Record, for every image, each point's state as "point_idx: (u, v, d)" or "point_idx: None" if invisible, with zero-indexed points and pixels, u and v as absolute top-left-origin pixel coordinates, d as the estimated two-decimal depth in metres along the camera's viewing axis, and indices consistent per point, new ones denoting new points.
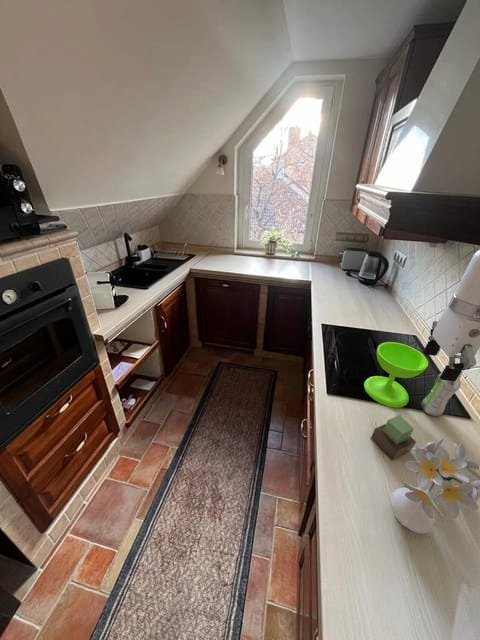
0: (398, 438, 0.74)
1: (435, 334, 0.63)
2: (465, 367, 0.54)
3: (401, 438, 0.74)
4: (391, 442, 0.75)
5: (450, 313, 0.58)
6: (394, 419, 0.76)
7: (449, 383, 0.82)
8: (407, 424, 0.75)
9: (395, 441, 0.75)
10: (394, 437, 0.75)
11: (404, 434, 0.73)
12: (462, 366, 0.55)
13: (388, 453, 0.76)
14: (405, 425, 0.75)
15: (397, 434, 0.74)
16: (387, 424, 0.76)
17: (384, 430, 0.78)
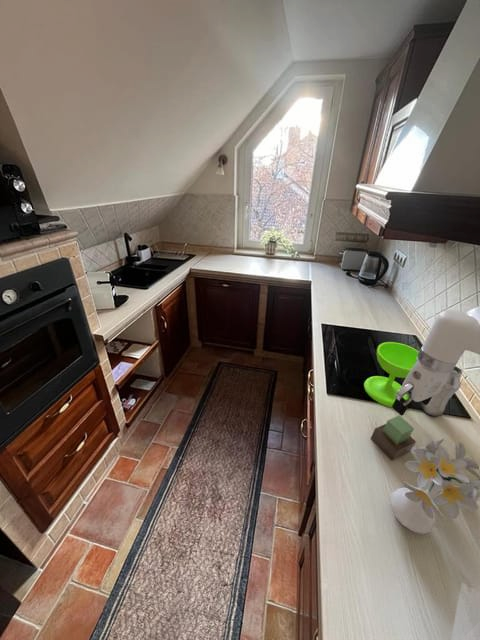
0: (398, 438, 0.74)
1: None
2: (397, 397, 0.65)
3: (401, 438, 0.74)
4: (391, 442, 0.75)
5: None
6: (394, 419, 0.76)
7: (449, 383, 0.82)
8: (407, 424, 0.75)
9: (395, 441, 0.75)
10: (394, 437, 0.75)
11: (404, 434, 0.73)
12: None
13: (388, 453, 0.76)
14: (405, 425, 0.75)
15: (397, 434, 0.74)
16: (387, 424, 0.76)
17: (384, 430, 0.78)
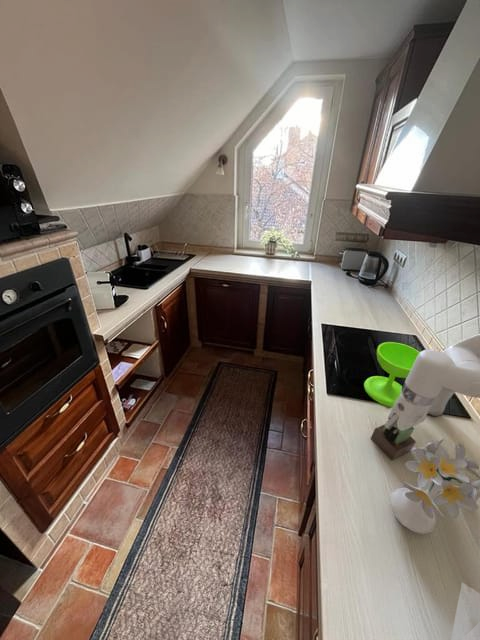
0: (398, 438, 0.74)
1: None
2: None
3: (401, 438, 0.74)
4: (391, 442, 0.75)
5: None
6: None
7: None
8: None
9: (395, 441, 0.75)
10: None
11: (404, 434, 0.73)
12: None
13: (388, 453, 0.76)
14: None
15: None
16: None
17: (384, 430, 0.78)
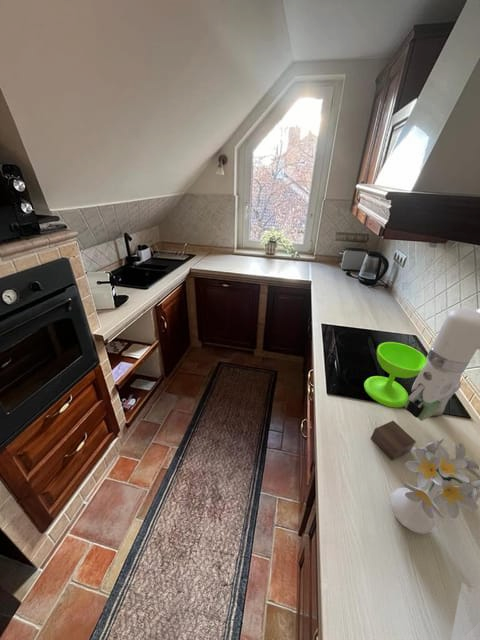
0: (423, 413, 0.66)
1: None
2: None
3: (426, 413, 0.66)
4: (391, 442, 0.75)
5: None
6: None
7: None
8: None
9: (419, 417, 0.67)
10: None
11: (430, 408, 0.65)
12: None
13: (388, 453, 0.76)
14: None
15: None
16: None
17: (406, 406, 0.70)
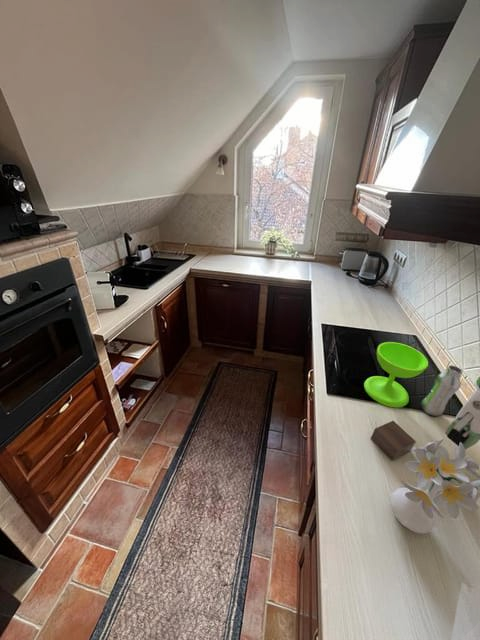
0: (468, 442, 0.62)
1: None
2: None
3: (471, 442, 0.62)
4: (391, 442, 0.75)
5: None
6: None
7: (449, 383, 0.82)
8: None
9: None
10: None
11: (476, 437, 0.61)
12: None
13: (388, 453, 0.76)
14: None
15: None
16: (452, 425, 0.65)
17: (447, 432, 0.66)
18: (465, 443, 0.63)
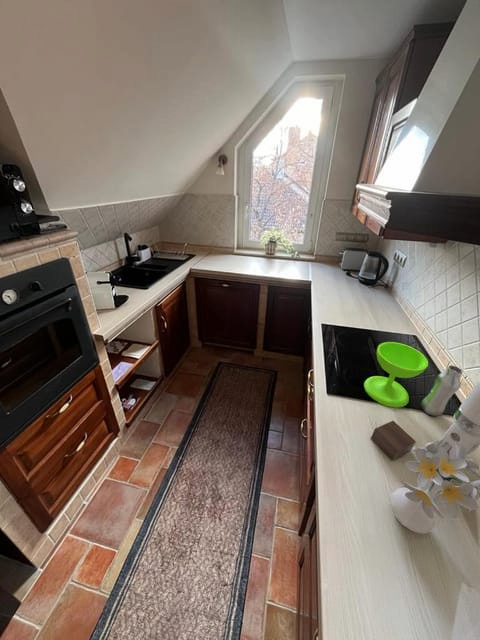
0: None
1: None
2: None
3: None
4: (391, 442, 0.75)
5: None
6: None
7: (449, 383, 0.82)
8: None
9: None
10: None
11: None
12: None
13: (388, 453, 0.76)
14: None
15: None
16: None
17: (429, 458, 0.72)
18: None
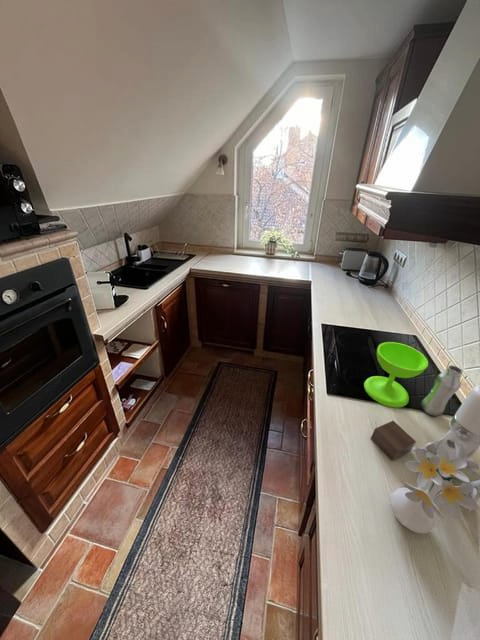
0: None
1: None
2: None
3: None
4: (391, 442, 0.75)
5: None
6: None
7: (449, 383, 0.82)
8: None
9: None
10: None
11: None
12: None
13: (388, 453, 0.76)
14: None
15: None
16: (428, 459, 0.72)
17: None
18: None
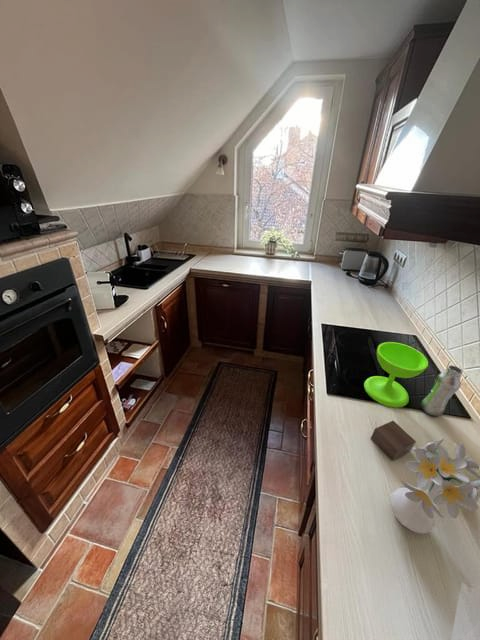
0: None
1: None
2: None
3: None
4: (391, 442, 0.75)
5: None
6: (436, 454, 0.72)
7: (449, 383, 0.82)
8: (450, 459, 0.71)
9: None
10: None
11: None
12: None
13: (388, 453, 0.76)
14: (448, 461, 0.71)
15: None
16: (428, 459, 0.72)
17: None
18: None
